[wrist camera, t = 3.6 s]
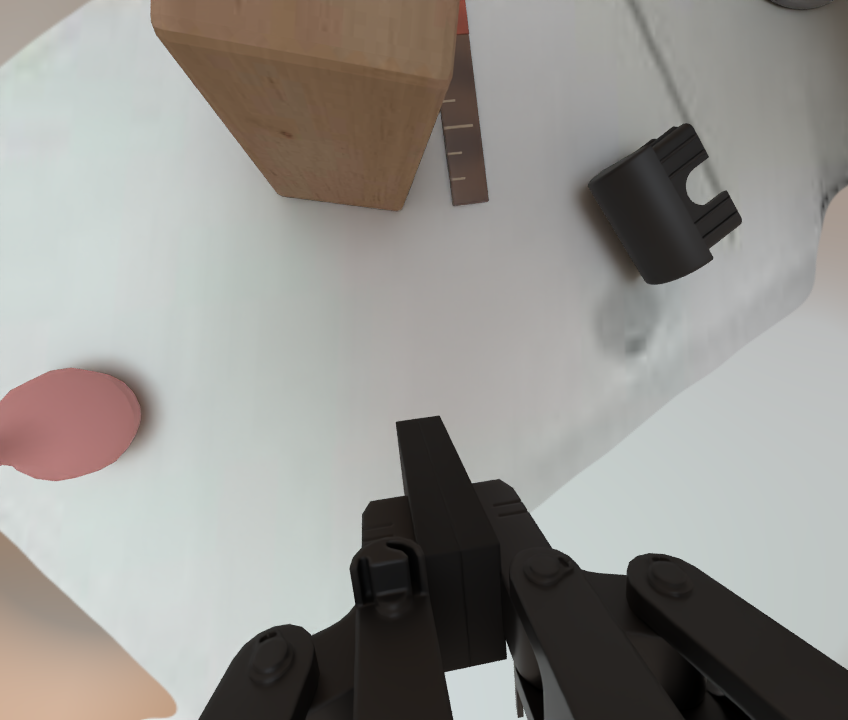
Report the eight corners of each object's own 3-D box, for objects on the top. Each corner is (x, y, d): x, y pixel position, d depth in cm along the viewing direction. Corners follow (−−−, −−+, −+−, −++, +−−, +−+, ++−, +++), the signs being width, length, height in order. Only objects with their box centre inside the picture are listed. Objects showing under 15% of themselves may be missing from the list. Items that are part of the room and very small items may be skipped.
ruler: (487, 201, 35) (489, 200, 34) (453, 206, 35) (454, 204, 34) (455, -64, 32) (456, -70, 32) (417, -63, 32) (418, -68, 31)
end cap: (569, 194, 36) (616, 168, 29) (632, 146, 36) (693, 110, 29) (627, 288, 38) (683, 284, 31) (686, 242, 38) (755, 228, 31)
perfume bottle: (121, 344, 32) (-18, 365, 20) (177, 426, 34) (76, 490, 22) (29, 392, 32) (-169, 442, 20) (89, 473, 33) (-63, 565, 21)
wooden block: (276, 196, 33) (142, 28, 13) (283, 61, 31) (147, -351, 12) (402, 213, 34) (453, 84, 14) (413, 84, 33) (485, -246, 13)
